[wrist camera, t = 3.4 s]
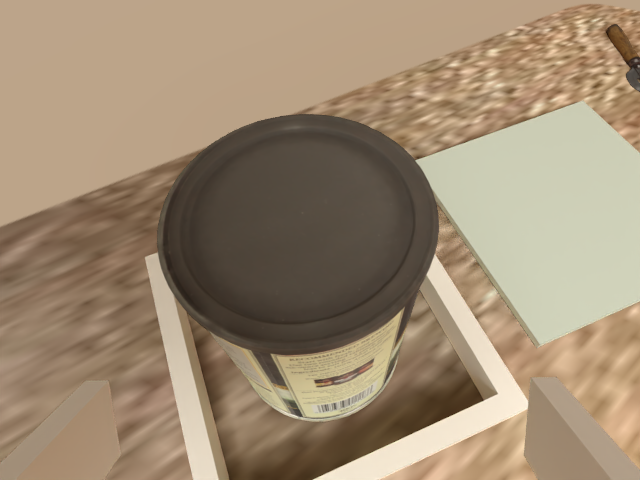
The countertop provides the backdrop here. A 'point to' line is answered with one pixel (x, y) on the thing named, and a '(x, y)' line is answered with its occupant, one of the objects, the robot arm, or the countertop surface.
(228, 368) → the countertop surface
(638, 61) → the can opener
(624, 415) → the countertop surface
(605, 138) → the mat
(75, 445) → the robot arm
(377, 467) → the holder frame
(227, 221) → the coffee can
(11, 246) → the countertop surface
